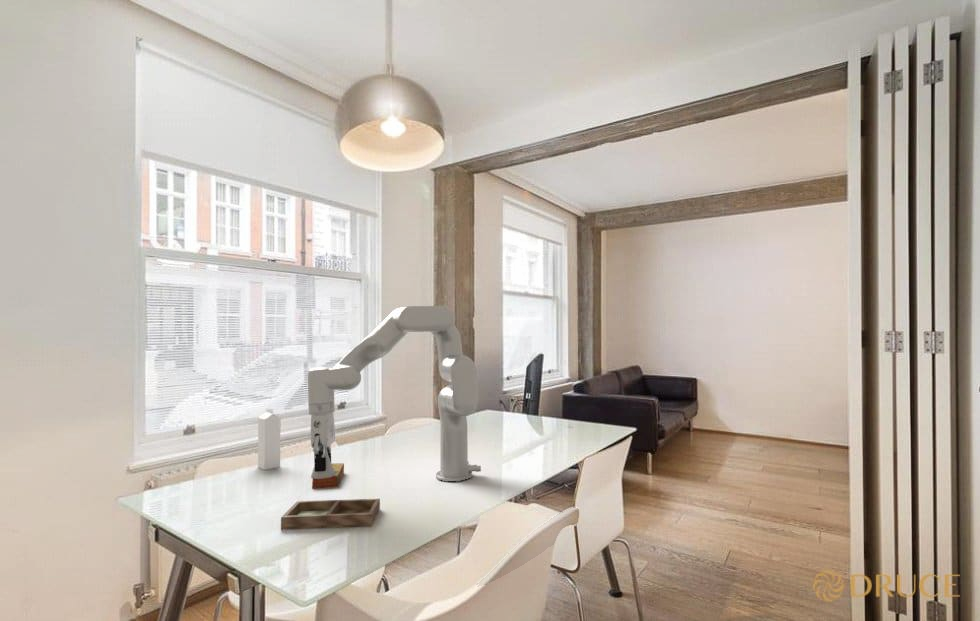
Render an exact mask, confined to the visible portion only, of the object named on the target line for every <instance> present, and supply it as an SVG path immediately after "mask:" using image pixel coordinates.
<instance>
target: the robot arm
mask: <svg viewBox="0 0 980 621" xmlns="http://www.w3.org/2000/svg"><path fill="white" fill-rule="evenodd" d="M455 322H456V314H455V312H454V310H452V309H451V308H450V307H449V306H446V305H423V306H422V305H408V306H401V307H397V308H395V309H394V310H393V311H392V312H391V313H389V315H388V316H387V317H386V318H385V319H384V320H383V321H382V322H380V324H379V325H378V326H377V327H376V328H375V329H374V330H373V331H371V333H370V334H369V335H367V336H366V337H364V338H363V340H362V341H361V342H359V343H358V344H357V345H356V346H354V347H353V348H352V349H351V350H350V351H348V353H346V354H345V355H344V356H343V357H342V359H340V360H339V362H337V363H336V364H335V366H334V367H333V368H331V367H328V366H326V367H324V366H323V367H313V368H310V369H309V370H308V372H307V395H308V396H307V398H308V402H307V403H308V404H307V405H308V406H307V407H308V416H311V417H310V445H311V448H312V452H313V454H314V455H313V459H314V460H313V461H314V462H313V463H314V466H315V472H320V471H325V470H326V457H324V456H325V447H326V448H327V451H328V456H329V459H330V461H331V462H332V447H331V446H332V445H333V443H335V441H336V428H335V425H336V424H335V416H334V413H335V411H336V409H335V406H336V405H335V390H337V391H350V390H353V389H355V388H357V387H358V386H359V385H360V383H361V382H362V374H361V372H362V371H363V370H364V369H365V368H366V367H368V365H370V364H371V363H374V362H375V361H376V360H379V359H381V358H383V357H385V356H386V355H387V354H389V353H390V352H391V351H392V349H394V347H395V346H396V345H398V344H399V342H400V341H401V340H402V339H403V338H404V337H405V336H406V335H407V334H408V333H424V332H425V333H427V332H429V333H431V334H432V335H433V336H434V339H435V341H436V347H437V354H438V355H437V357H438V372H439V375H440V377H441V378H442V379H443V380H444V381H446V382H449V383H451V384H449V385H447V386H444V387H443V388H442V389H441V390H440V392H439V394H438V395H437V407H438V413H439V433H440V434H439V435H440V436H439V438H440V440H439V441H440V442H439V444H440V445H439V446H440V450H439V451H440V452H439V453H440V454H439V456H440V457H439V458H440V465H439V466H440V470H439V471H438V472H436V473H435V478H436V479H437V480H439V481H441V480H442V482H448V481H456V482H462V481H461V480H464V481H466V480H465V479H467V480H469V479H468V478H470V477H471V478H472V477H473V472H481V470H482V468H481V467H482V466H481V465H478V464H470V462H469V460H468V459H469V457H468V454H469V453H468V452H469V451H468V450H469V449H468V447H469V446H468V441H469V440H468V419H467V416H468V417H469V416H471V415H473V414H474V413H475V412H476V410H477V408H478V405H479V385H478V384H479V383H478V381H479V380H478V371H477V366H476V364H475V362H474V361H473V359H472V358H470V357H469V356H467V355H464V354H463V346H462V345H463V344H462V339H461V336H460V334H461V333H460V331H459V330H458V327H456V325H455ZM319 445H322V446H323V447H319ZM319 449H322V452H321V450H319ZM471 478H470V479H471Z"/></svg>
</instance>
